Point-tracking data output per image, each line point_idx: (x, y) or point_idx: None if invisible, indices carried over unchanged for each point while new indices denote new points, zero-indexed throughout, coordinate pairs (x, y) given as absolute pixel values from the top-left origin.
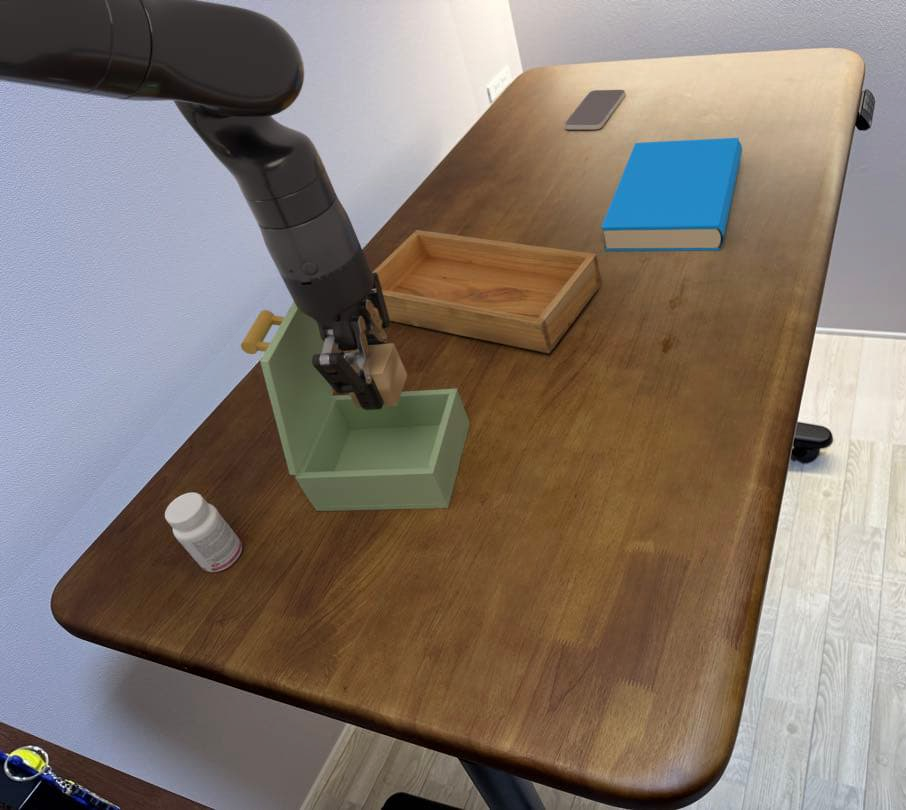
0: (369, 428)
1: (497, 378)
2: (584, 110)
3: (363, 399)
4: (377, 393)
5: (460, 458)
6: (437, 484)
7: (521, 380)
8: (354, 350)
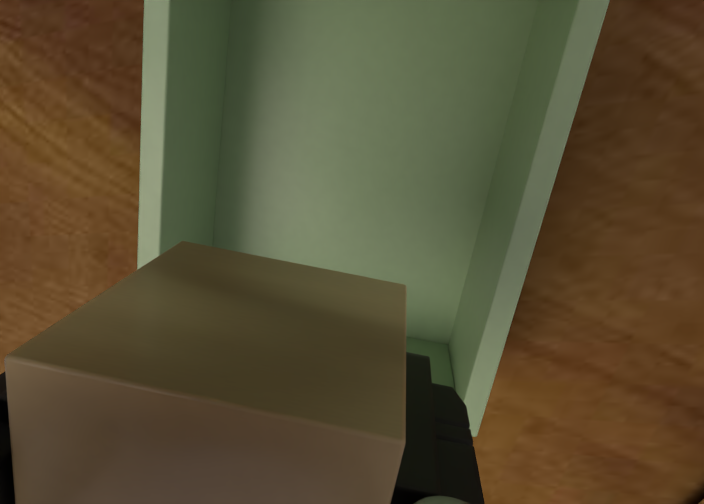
0: (520, 71)
1: (611, 424)
2: None
3: None
4: None
5: None
6: None
7: (577, 474)
8: (336, 454)
